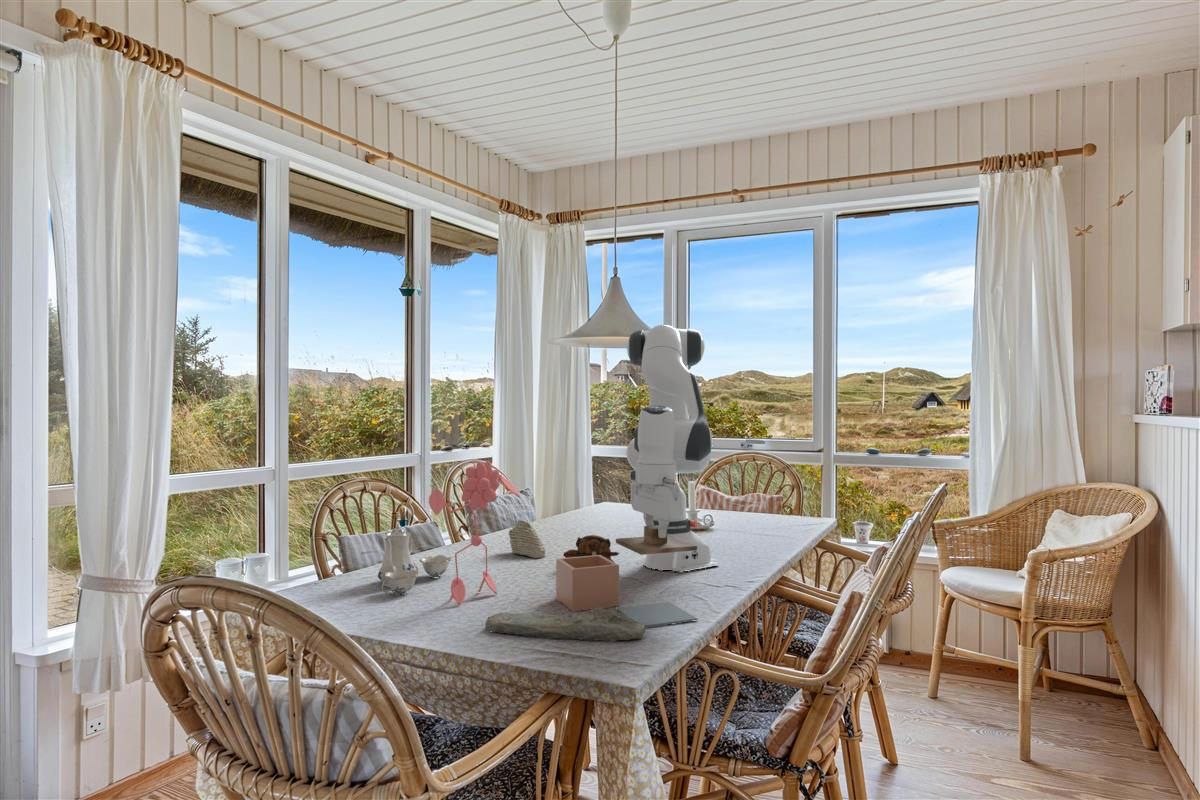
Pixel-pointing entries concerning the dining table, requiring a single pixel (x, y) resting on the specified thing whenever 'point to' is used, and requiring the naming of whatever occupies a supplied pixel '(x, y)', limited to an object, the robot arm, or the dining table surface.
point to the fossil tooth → (526, 540)
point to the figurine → (479, 494)
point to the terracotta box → (587, 582)
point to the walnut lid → (655, 543)
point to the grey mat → (656, 614)
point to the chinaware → (405, 563)
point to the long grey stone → (569, 625)
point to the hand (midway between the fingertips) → (655, 535)
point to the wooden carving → (591, 547)
